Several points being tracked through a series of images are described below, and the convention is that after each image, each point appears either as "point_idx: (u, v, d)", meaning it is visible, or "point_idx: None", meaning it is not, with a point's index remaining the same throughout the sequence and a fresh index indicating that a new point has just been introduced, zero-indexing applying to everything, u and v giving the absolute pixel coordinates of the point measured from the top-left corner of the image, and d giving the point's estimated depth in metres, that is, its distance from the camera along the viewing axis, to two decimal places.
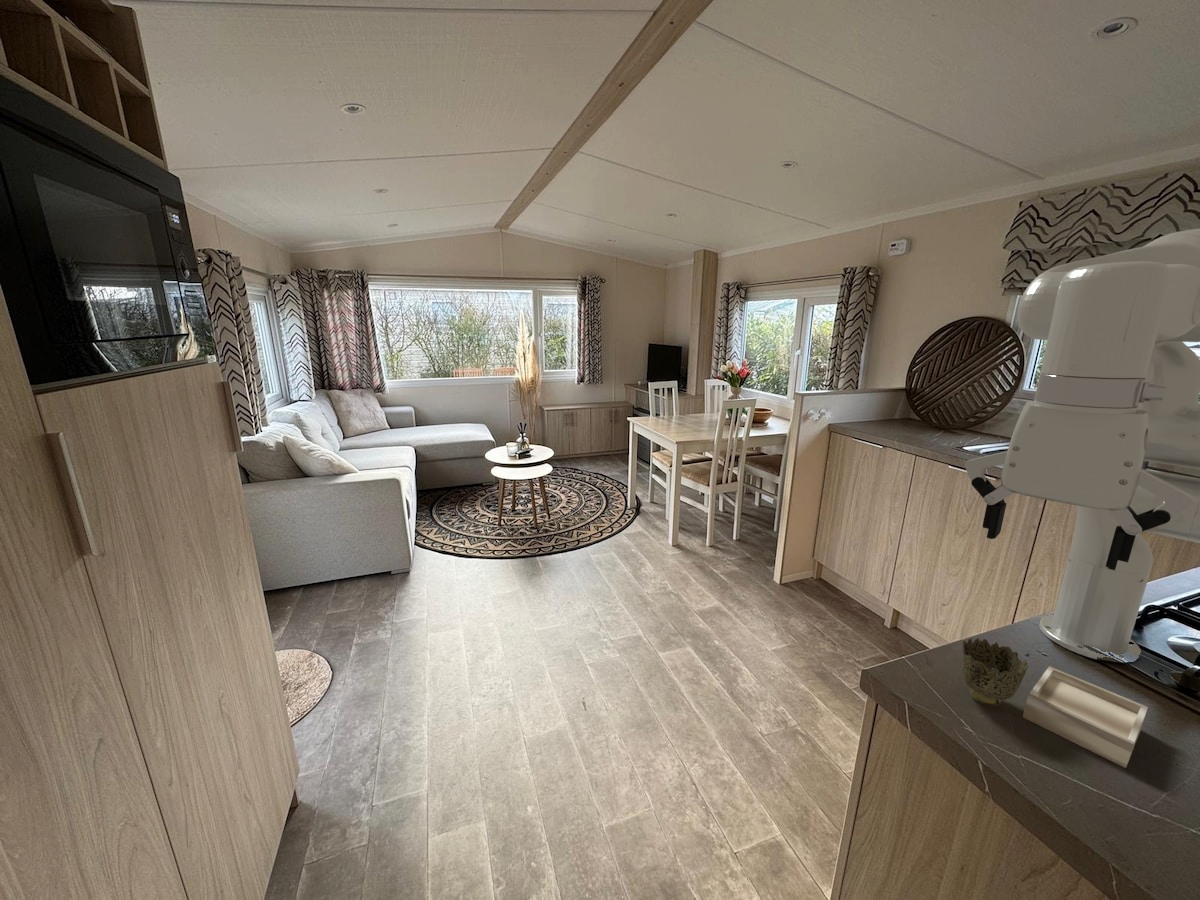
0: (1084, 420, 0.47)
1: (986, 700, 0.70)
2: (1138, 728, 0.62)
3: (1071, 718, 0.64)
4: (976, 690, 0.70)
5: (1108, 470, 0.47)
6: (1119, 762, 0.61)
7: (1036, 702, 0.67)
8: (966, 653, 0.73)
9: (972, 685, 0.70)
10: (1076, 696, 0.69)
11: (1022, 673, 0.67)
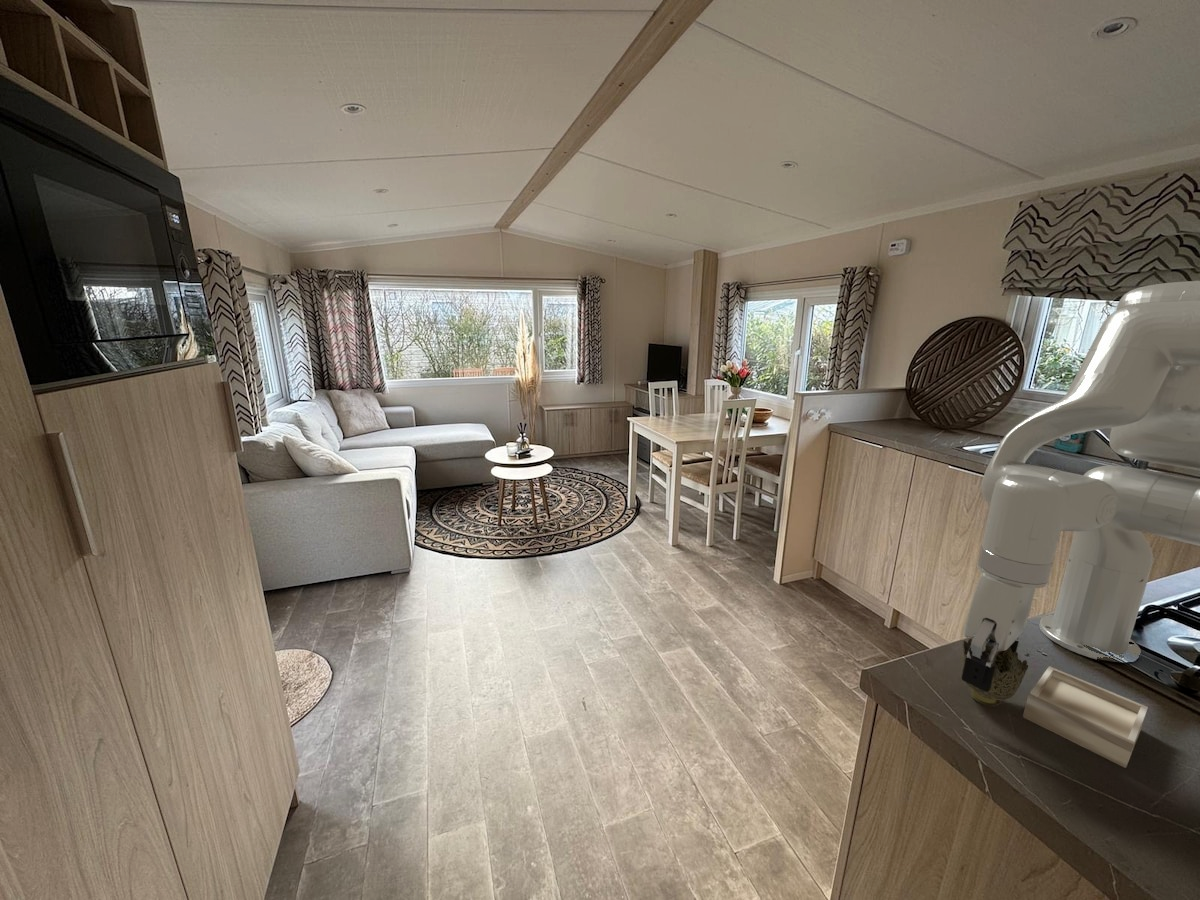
0: None
1: (986, 700, 0.70)
2: (1138, 728, 0.62)
3: (1071, 718, 0.64)
4: (976, 690, 0.70)
5: (1029, 610, 0.68)
6: (1119, 762, 0.61)
7: (1036, 702, 0.67)
8: (966, 653, 0.73)
9: (972, 685, 0.70)
10: (1076, 696, 0.69)
11: (1022, 673, 0.67)
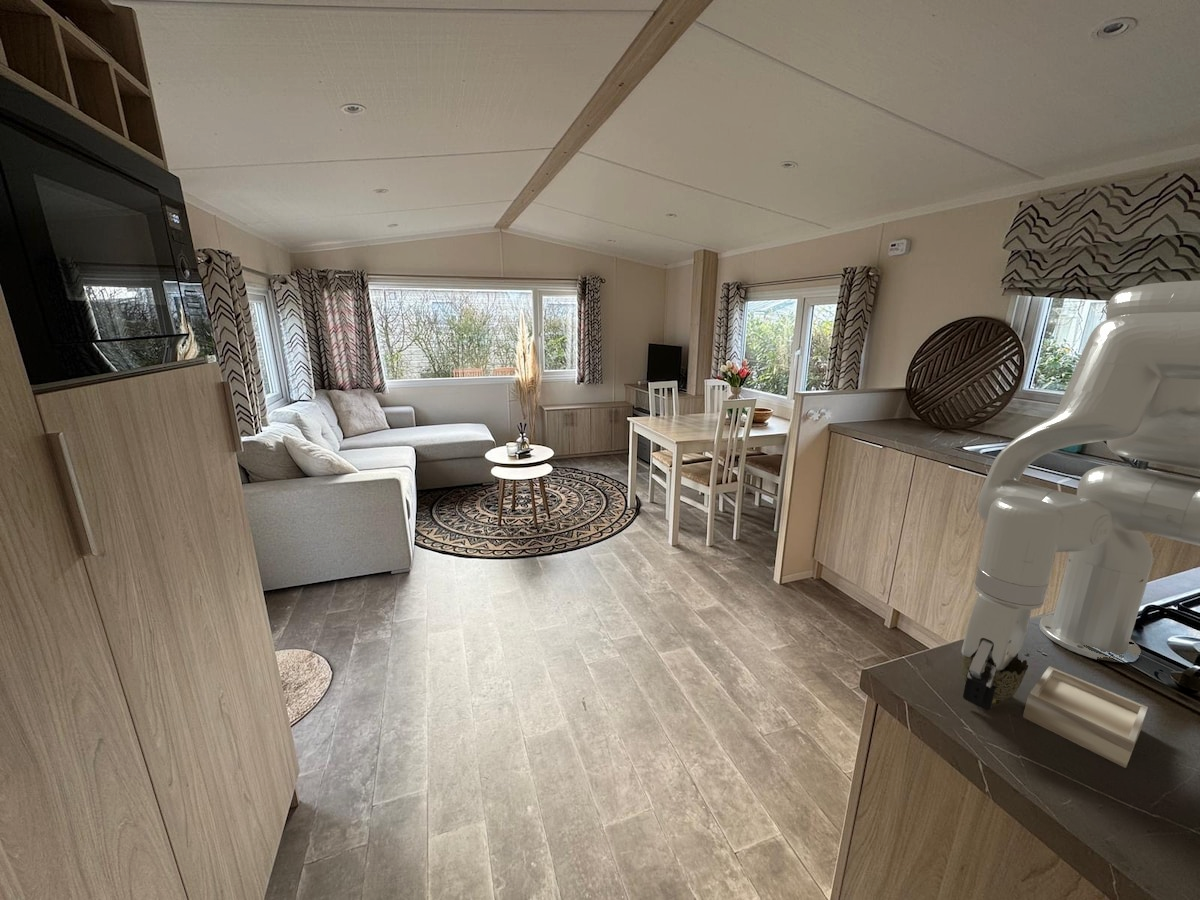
0: None
1: None
2: (1138, 728, 0.62)
3: (1071, 718, 0.64)
4: None
5: (1027, 628, 0.69)
6: (1119, 762, 0.61)
7: (1036, 702, 0.67)
8: None
9: None
10: (1076, 696, 0.69)
11: (1022, 673, 0.67)
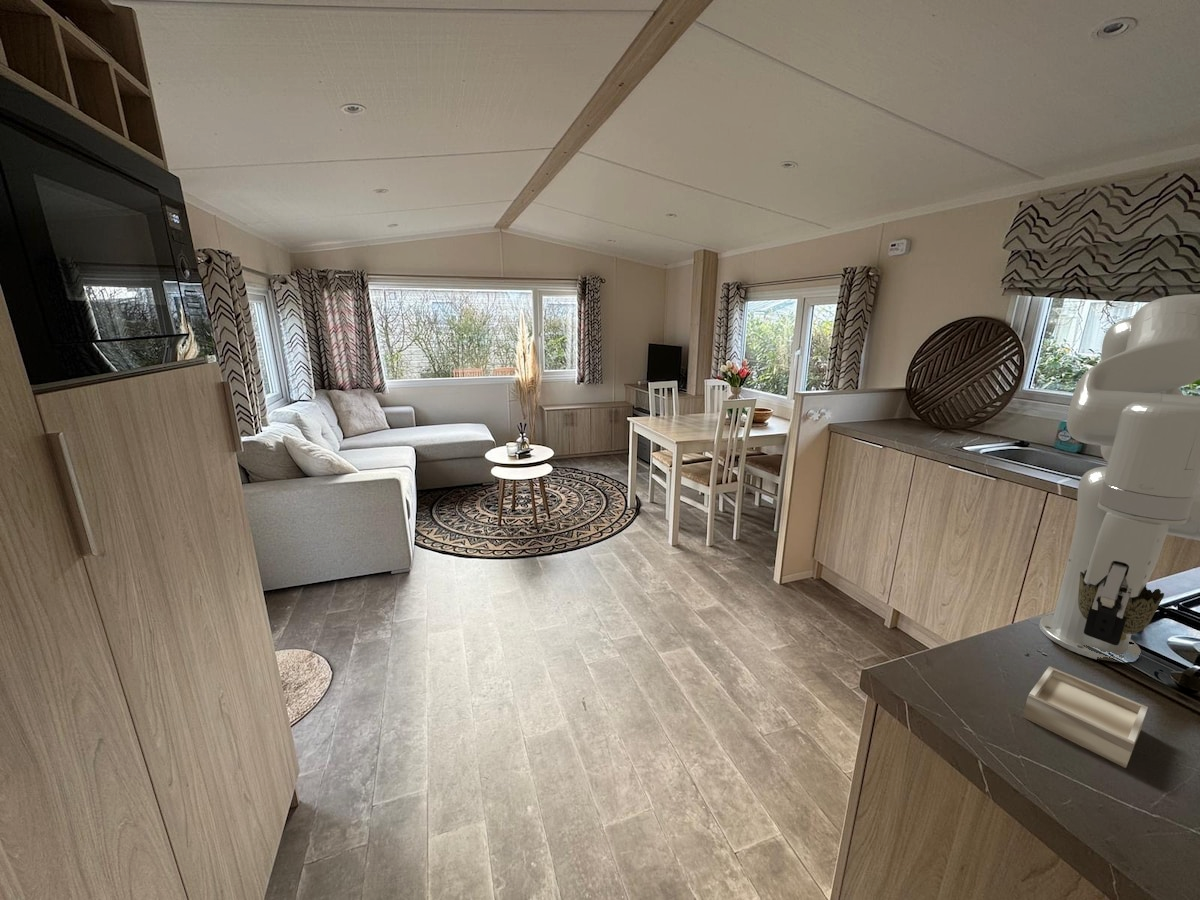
0: None
1: None
2: (1138, 728, 0.62)
3: (1071, 718, 0.64)
4: None
5: None
6: (1119, 762, 0.61)
7: (1036, 702, 0.67)
8: None
9: None
10: (1076, 696, 0.69)
11: (1159, 601, 0.59)
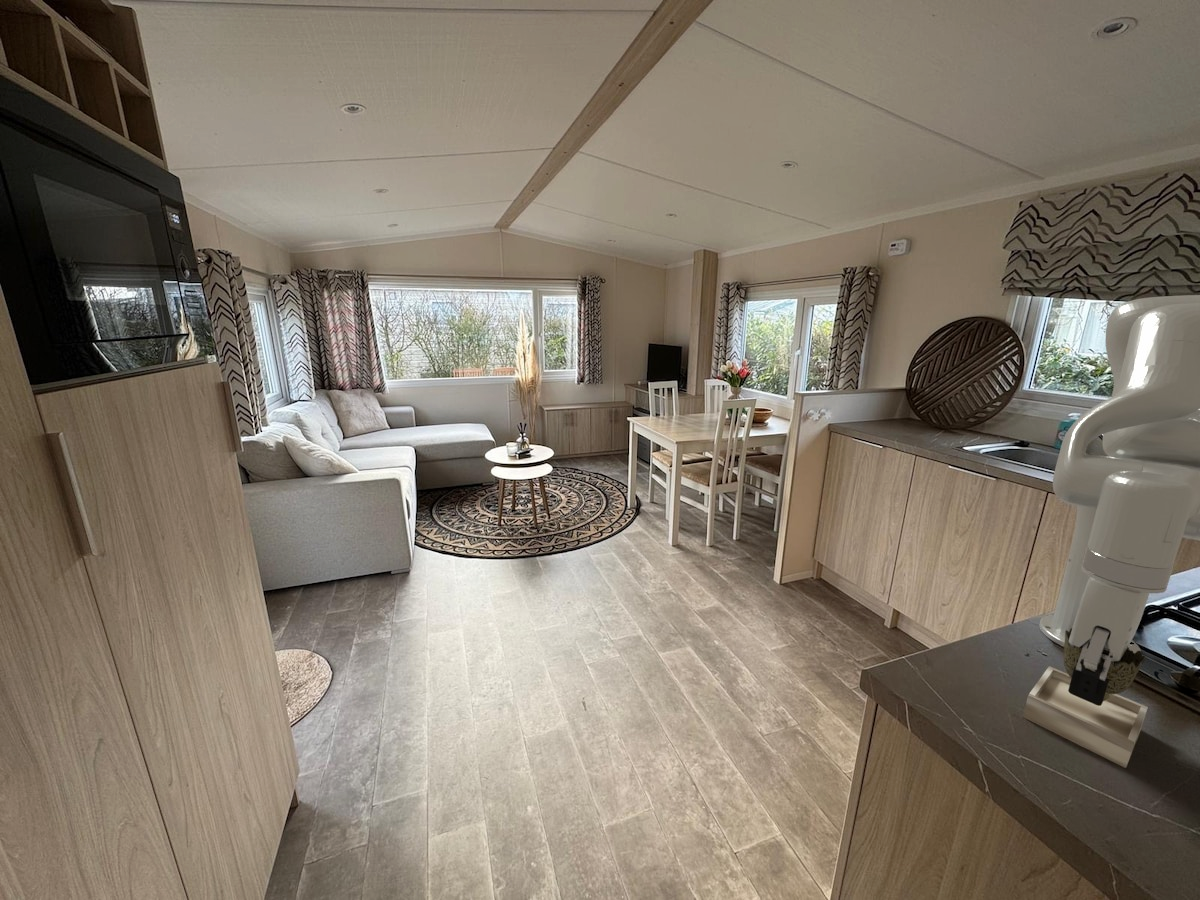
0: None
1: None
2: (1138, 728, 0.62)
3: (1071, 718, 0.64)
4: None
5: None
6: (1119, 762, 0.61)
7: (1036, 702, 0.67)
8: None
9: None
10: (1076, 696, 0.69)
11: (1140, 664, 0.61)
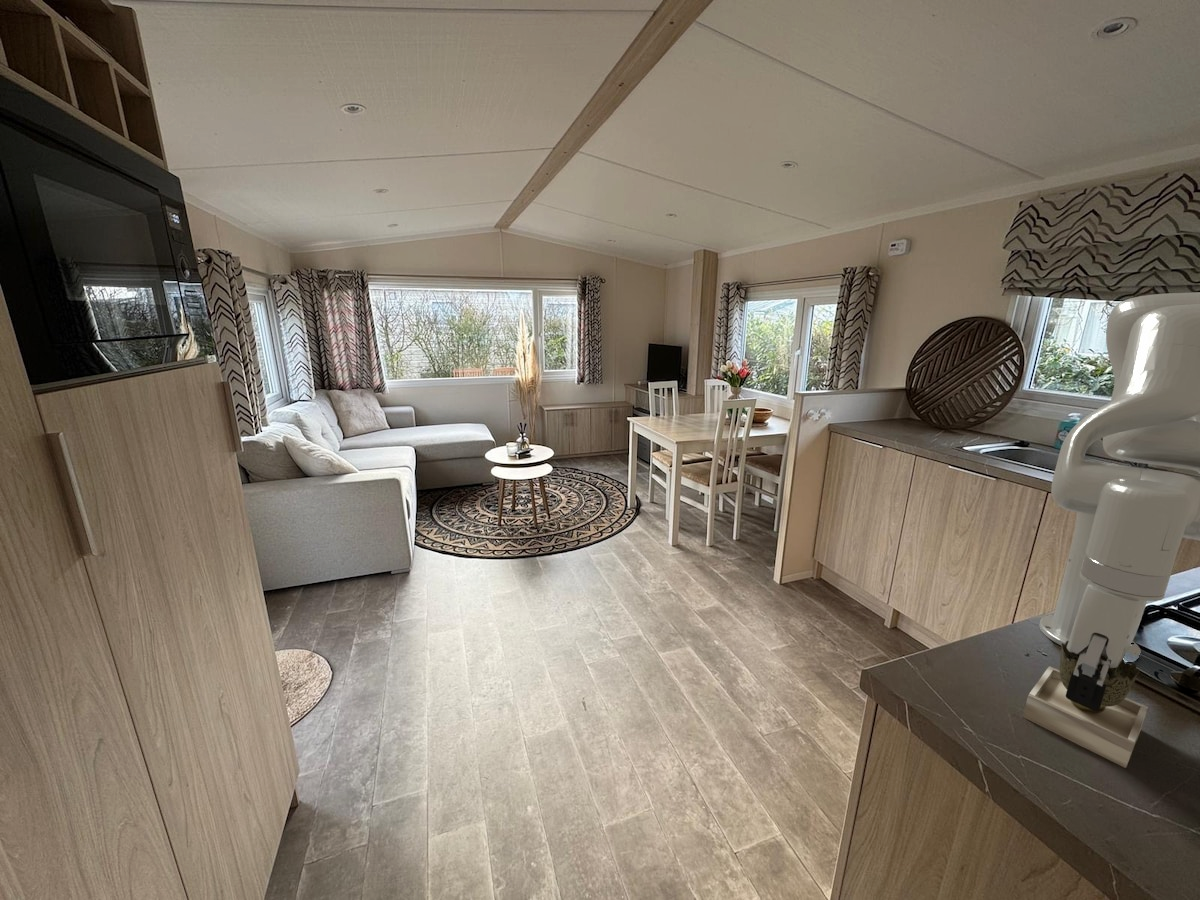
0: None
1: None
2: (1138, 728, 0.62)
3: (1071, 718, 0.64)
4: None
5: None
6: (1119, 762, 0.61)
7: (1036, 702, 0.67)
8: None
9: None
10: None
11: (1134, 678, 0.62)
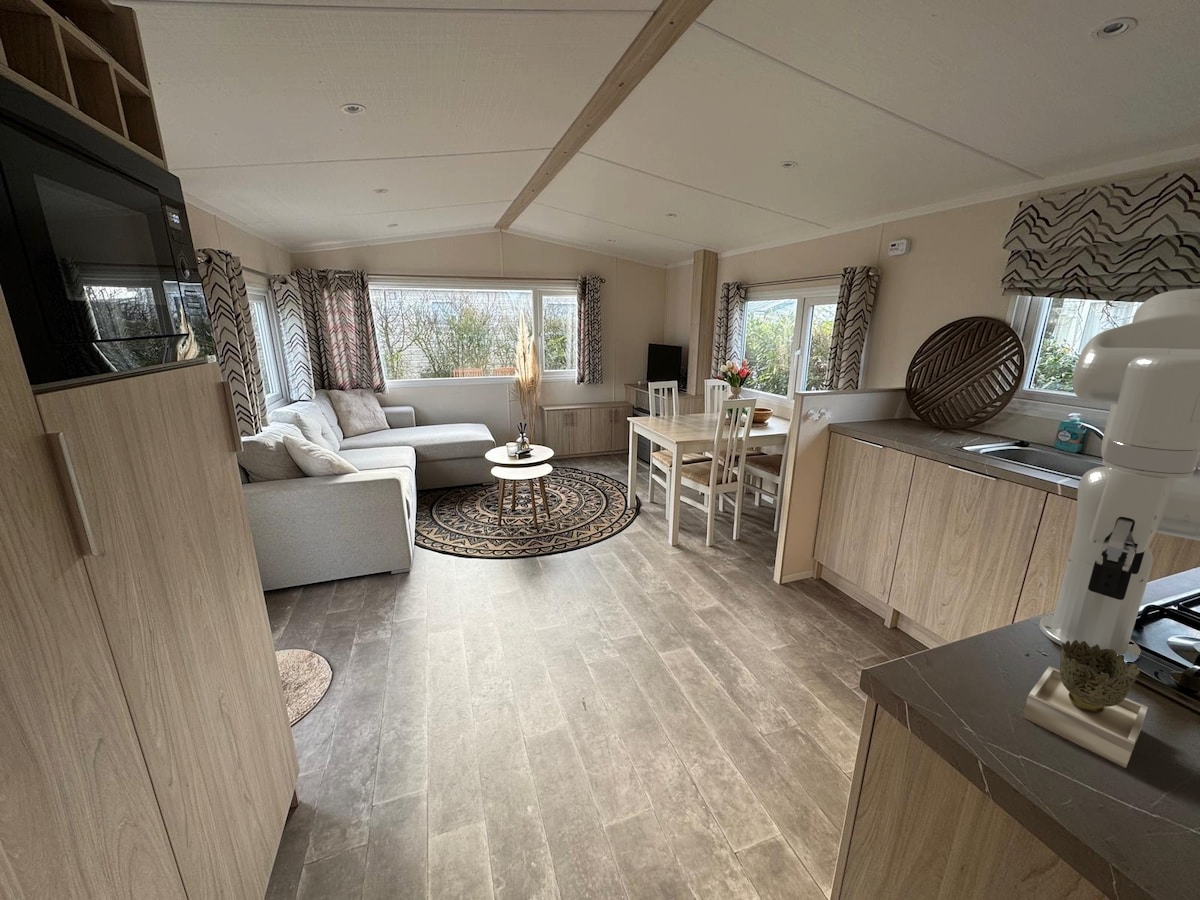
0: None
1: (1090, 706, 0.66)
2: (1138, 728, 0.62)
3: (1071, 718, 0.64)
4: (1080, 696, 0.65)
5: None
6: (1119, 762, 0.61)
7: (1036, 702, 0.67)
8: None
9: (1075, 690, 0.66)
10: None
11: (1135, 678, 0.62)
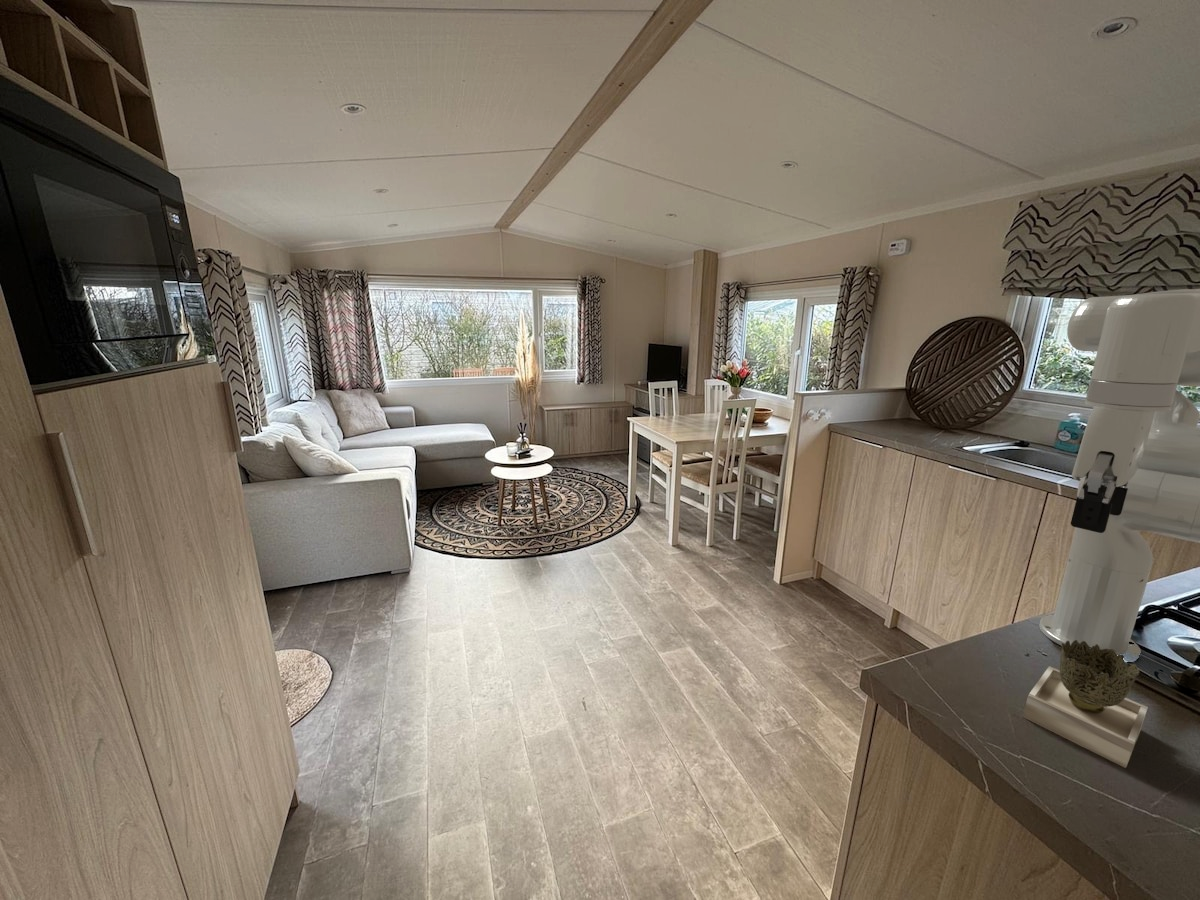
0: None
1: (1090, 706, 0.66)
2: (1138, 728, 0.62)
3: (1071, 718, 0.64)
4: (1080, 696, 0.65)
5: None
6: (1119, 762, 0.61)
7: (1036, 702, 0.67)
8: None
9: (1075, 690, 0.66)
10: None
11: (1134, 678, 0.62)
